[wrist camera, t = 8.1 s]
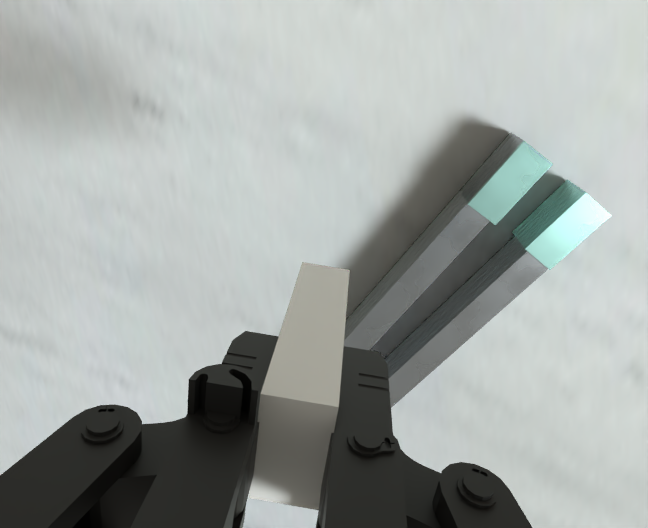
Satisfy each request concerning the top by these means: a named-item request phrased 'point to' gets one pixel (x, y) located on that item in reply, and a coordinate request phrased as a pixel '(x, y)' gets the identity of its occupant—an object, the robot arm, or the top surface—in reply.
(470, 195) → the tongs free arm
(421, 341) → the arm
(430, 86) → the top surface
